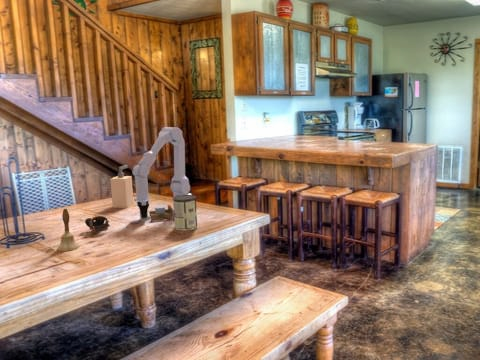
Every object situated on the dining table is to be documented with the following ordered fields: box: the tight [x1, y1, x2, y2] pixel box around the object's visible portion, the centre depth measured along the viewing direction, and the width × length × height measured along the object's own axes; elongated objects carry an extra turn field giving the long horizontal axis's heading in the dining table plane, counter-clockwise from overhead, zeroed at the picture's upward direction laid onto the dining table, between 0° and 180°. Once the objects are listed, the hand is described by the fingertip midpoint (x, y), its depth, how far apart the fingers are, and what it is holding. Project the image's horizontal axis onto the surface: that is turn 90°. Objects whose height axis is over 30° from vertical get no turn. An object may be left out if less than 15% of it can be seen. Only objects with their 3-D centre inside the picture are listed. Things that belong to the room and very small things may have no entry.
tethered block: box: [139, 205, 166, 222], centre depth 216 cm, size 12×4×6 cm, turn 106°
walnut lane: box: [148, 204, 174, 222], centre depth 217 cm, size 10×9×5 cm
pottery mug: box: [84, 215, 111, 236], centre depth 196 cm, size 12×10×8 cm
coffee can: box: [172, 195, 198, 232], centre depth 198 cm, size 10×10×14 cm
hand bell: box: [56, 208, 80, 252], centre depth 174 cm, size 8×8×16 cm
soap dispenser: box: [109, 164, 134, 209], centre depth 246 cm, size 13×9×22 cm
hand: (144, 216), depth 215 cm, fingers closed on tethered block, 3 cm apart
